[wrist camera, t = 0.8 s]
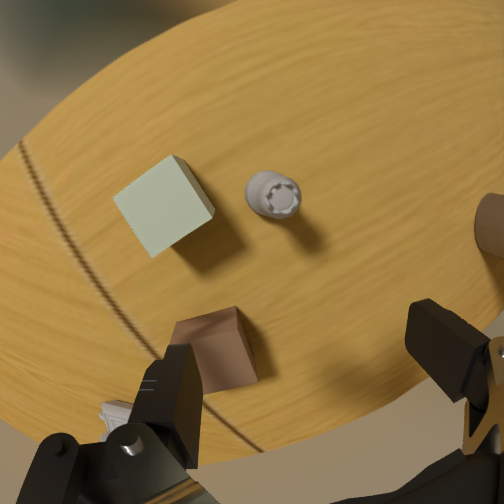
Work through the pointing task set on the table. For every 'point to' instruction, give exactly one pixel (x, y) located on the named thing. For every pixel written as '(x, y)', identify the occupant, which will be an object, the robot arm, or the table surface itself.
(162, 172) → the sage block
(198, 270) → the table surface
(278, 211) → the rook chess piece
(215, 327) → the walnut block
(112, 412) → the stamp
